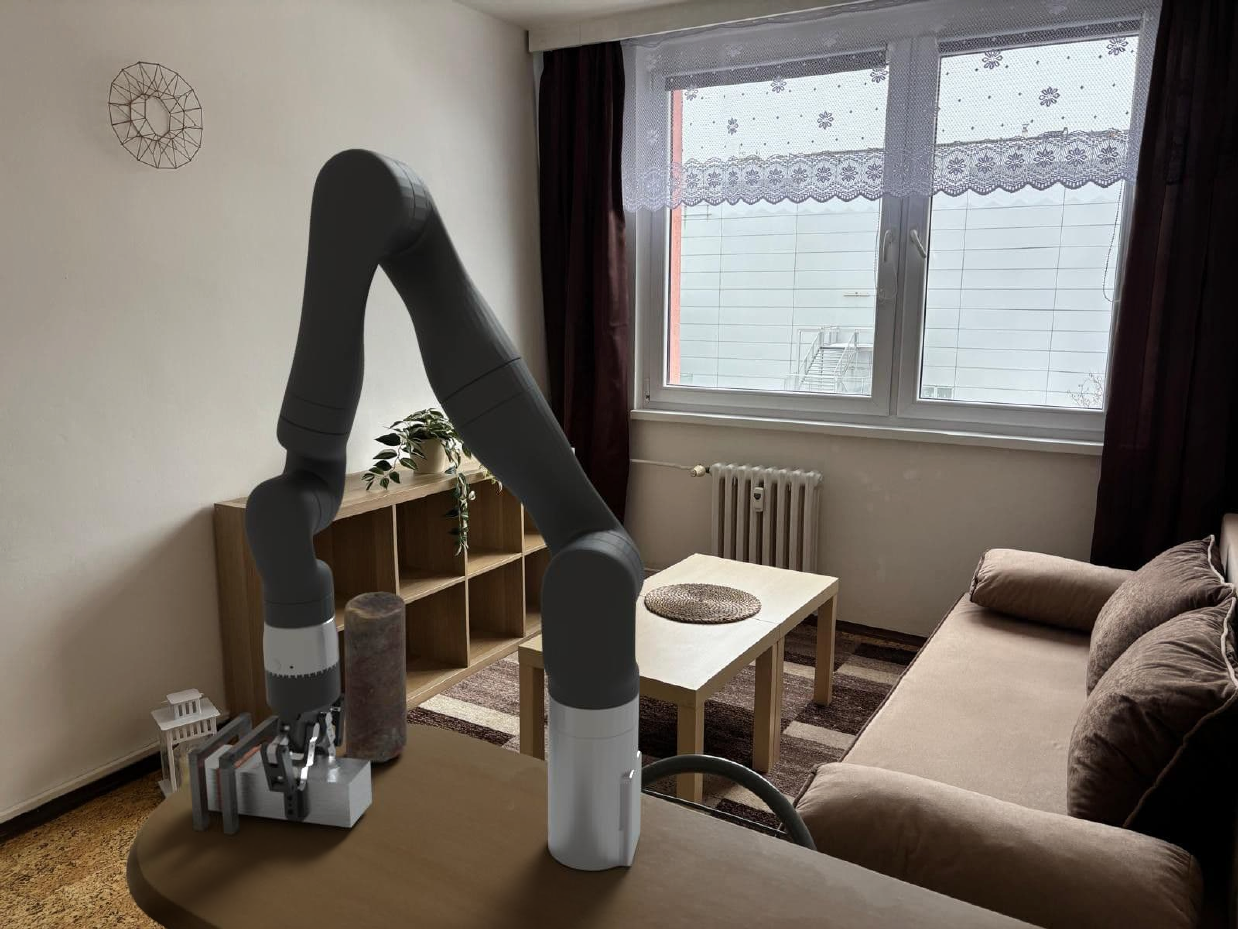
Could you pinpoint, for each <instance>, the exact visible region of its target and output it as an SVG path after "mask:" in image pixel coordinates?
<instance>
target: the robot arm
mask: <svg viewBox="0 0 1238 929" xmlns="http://www.w3.org/2000/svg"><path fill="white" fill-rule="evenodd" d="M311 197H312V198H311V207H310V213H309V214H310V216H309V217H310V218H309V228H308V229H309V230H308V231H309V232H308V242H307V243H308V247H307V257H306V266H305V275H304V276H305V277H304V285H303V286H304V287H303V296H302V297H303V298H302V306H301V313H300V320H299V327H298V334H297V338H296V343H295V344H296V345H295V349H294V354H293V359H292V362H291V366H290V367H291V368H290V371H289V374H288V378H287V383H286V388H285V391H284V395H283V399H282V403H281V406H280V411H279V414H278V419H277V423H276V439H277V441H278V443H279V445H280V446H282V448H284V449H285V450H286V456H285V463H284V468H283V471H282V473H281V474H279V475H276V476H273V477H272V478H268V479H266V480H263V481H262V482H260V483H259V484H257V485H256V486H255V487H254V488H253V489H252V491H251V492H250V494H249V495H248V497H247V500H246V503H245V508H244V516H243V517H244V519H243V523H244V531H245V536H246V539H247V540H246V541H247V544H248V546H249V550H250V552H251V555H252V559H253V562H254V564H255V569H256V570H257V573H258V575H259V577H260V581H261V583H262V605H263V620H264V621H263V623H264V624H263V627H264V628H263V636H262V637H263V639H262V648H263V662H264V663H263V664H264V666H263V667H264V679H265V693H266V694H265V696H266V697H265V698H266V703H267V705H268V706H269V707H270V708H271V709H272V710H273V711H274V712H275V713H276V714H277V716H279V719H278V726H277V737H276V738H275V739H274V741H273V742H272V743H267V742H262V744H261V745H260V754H261V758H262V762H263V767H264V771H265V775H266V779H267V783H268V787H269V791H273V792H281V793H284V805H285V806H284V809H285V817H286V818H287V819H288V820H287V821H292V822H301V823H303V822H302V821H303V820H304V819H305V818H306V817H307V798H306V787H305V785H306V777H307V769H308V767H309V766H311V765H312V763H313V757H314V754H316V755H325V756H334V757H336V753H337V752H336V751H337V750H336V748H341V747H342V745H343V742H344V731H345V730H344V728H345V704H346V695H345V693H342V690H341V689H342V687H341V686H342V685H341V684H342V683H341V664H340V663H341V661H340V642H339V631H338V625H337V621H336V610H335V606H336V605H335V591H334V589H335V588H334V579H333V572H332V569H331V568H330V566H329V565H328V564H327V563H326V562H325V561H323V560H321V559H318V558H317V557H316V553H315V548H314V543H313V542H314V540H313V538H314V535H316V534H318V533H319V532H322V531H323V530H325V529H326V528H327V527H329V526H330V525H331V524H332V523H333V521H334V520H335V518H336V516H337V515H338V513H339V511H340V509H341V505H342V502H343V499H344V494H345V488H346V479H347V478H346V475H347V459H348V458H347V448H348V447H347V446H348V442H349V439H350V436H351V432H352V430H353V429H352V428H353V425H354V421H355V418H356V414H357V410H358V406H359V404H360V400H361V396H362V391H363V386H364V376H365V362H366V361H365V319H366V310H367V309H366V308H367V302H368V298H369V293H370V290H371V286H372V283H373V280H374V276H375V274H376V272H377V269H378V266H379V267H380V268H381V269H382V271H383V272H384V273H385V275H386V276H387V278H388V280H389V281H390V284H392V285H393V287H394V289H395V290H396V292H397V294H398V295H399V297H400V298H401V300H402V302H403V303H404V306H405V308H406V311H407V312H408V314H409V316H410V320H411V322H412V326H413V329H414V332H415V336H416V340H417V345H418V348H419V349H418V350H419V353H420V356H421V360H422V364H423V368H424V371H425V375H426V378H427V381H428V384H429V386H430V388H431V390H432V392H433V394H434V396H435V398H436V400H437V403H439V405H440V407H441V409H442V411H443V412H444V414H445V416H446V417H447V419H448V421H449V423H450V424H451V426H452V427H453V429H454V430H455V432H456V434H457V436H458V437H459V439H460V440H461V442H462V443H463V444H464V446H465V447H466V449H467V451H469V453H471V455H473V457H474V458H475V459H476V460H477V461H478V463H480V464H481V465H482V466H483V467H484V469H485V470H487V471H488V472H489V473H490V474H491V475H492V476H493V477H494V478H495V479H496V480H497V481H498V482H499V483H500V484H502V486H504V487H505V489H507V490H508V491H509V492H510V493H511V494H512V495H513V497H515V498H516V499H517V500H518V501H519V503H520V504H521V505H522V507H523V508H524V509H525V510H526V512H527V513H528V515H529V516H530V518H531V519H532V521H533V523H534V525H535V527H536V528H537V529H536V530H538V532H539V534H540V536H541V538H542V540H543V542H544V544H545V546H546V548H547V550H548V552H549V554H550V556H551V560H550V561H549V563H548V565H547V566H546V569H545V570H544V573H543V577H542V581H541V589H540V620H541V621H540V625H541V626H540V629H541V653H542V664H543V669H544V672H545V674H546V677H547V846H548V850H549V853H550V855H551V856H552V857H553V858H554V859H555V860H556V861H558V862H559V863H560V864H562V865H564V866H567V867H568V868H571V869H576V870H581V871H602V870H609V869H611V868H615V867H618V866H619V867H620V866H623V867H630V866H632V864H633V859H634V857H635V856H634V855H635V853H636V849H637V845H638V842H639V838H640V834H641V812H642V811H641V809H642V808H641V807H642V805H641V803H642V799H641V798H642V756H643V755H642V752H641V751H640V750H639V711H640V710H639V709H640V708H639V707H640V706H639V705H640V666H639V663H638V662H637V657H636V635H637V633H636V632H637V631H636V626H637V625H636V623H637V622H636V621H637V618H636V617H637V615H636V614H637V602H638V599H639V597H640V594H641V592H642V590H643V588H644V583H645V576H646V575H645V565H644V560H643V558H642V553H641V552H640V550H639V548H638V547H637V545H636V543H635V542H634V540H633V539H632V538H631V536H630V535H629V534H628V532H627V530H626V529H625V528H624V527H623V525H622V524H621V523H620V521H619V520H618V519H617V517H616V515H614V513H613V512H612V510H611V509H610V508H609V506H608V505H607V504H606V502H605V501H604V499H603V497H602V496H600V493H598V491H597V490H596V488H595V487H594V485H593V484H592V482H591V481H590V479H589V478H588V476H587V474H586V473H585V471H584V470H583V468H582V465H581V464H580V462H579V460H578V458H577V456H576V454H575V452H574V450H573V448H572V446H571V444H570V443H569V440H568V438H567V436H566V435H565V433H564V431H563V429H562V427H561V425H560V423H559V422H558V420H557V418H556V416H555V414H554V413H553V411H552V409H551V408H550V406H549V404H548V402H547V400H546V398H545V396H544V394H543V393H542V391H541V389H540V387H539V386H538V383H537V381H536V380H535V377H534V376H533V374H532V372H531V371H530V370H529V368H528V366H527V365H526V363H525V361H524V359H523V358H522V356H521V354H520V353H519V351H518V350H517V348H516V346H515V345H514V343H513V342H512V340H511V339H510V337H509V335H508V334H507V332H506V330H505V329H504V327H503V325H502V324H501V322H500V321H499V319H498V318H497V315H496V314H495V312H494V311H493V309H492V307H491V306H490V305H489V303H488V302H487V300H486V299H485V297H484V295H483V294H482V293H481V291H480V290H479V288H478V287H477V285H476V284H475V282H474V281H473V279H472V278H471V276H470V274H469V273H468V271H467V269H466V267H465V265H464V263H463V261H462V259H461V256H460V255H459V252H458V250H457V248H456V246H455V244H454V242H453V240H452V237H451V236H450V233H449V231H448V229H447V227H446V224H445V221H444V219H443V217H442V216H441V213H440V210H439V208H438V207H437V206H438V205H437V204H436V201H435V200H434V198H433V195H432V193H431V192H430V190H429V188H428V186H427V184H426V182H424V180H423V179H422V177H421V176H420V175H419V174H418V173H417V172H416V171H415V170H414V169H413V168H412V167H411V166H408V164H406V163H404V162H402V161H399V160H398V159H396V158H395V159H394V158H392V157H389V156H388V155H387V156H386V155H384V154H382V153H379V152H376V151H373V150H369V149H364V148H349V149H346V150H341V151H339V152H337V153H336V154H334V155H333V156H331V157H330V158H329V159H328V160H327V161H326V162H325V163H324V164H323V166H322V167H321V169H320V170H319V172H318V174H317V177H316V179H315V182H314V186H313V191H312V196H311ZM333 726H334V727H333ZM292 753H297V754H304V756H303V758H298V757H291V755H292ZM293 766H294V767H297V768H298V773H297V778H296V777H295V775H294V771H293ZM278 776H279V779H278Z"/></svg>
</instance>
